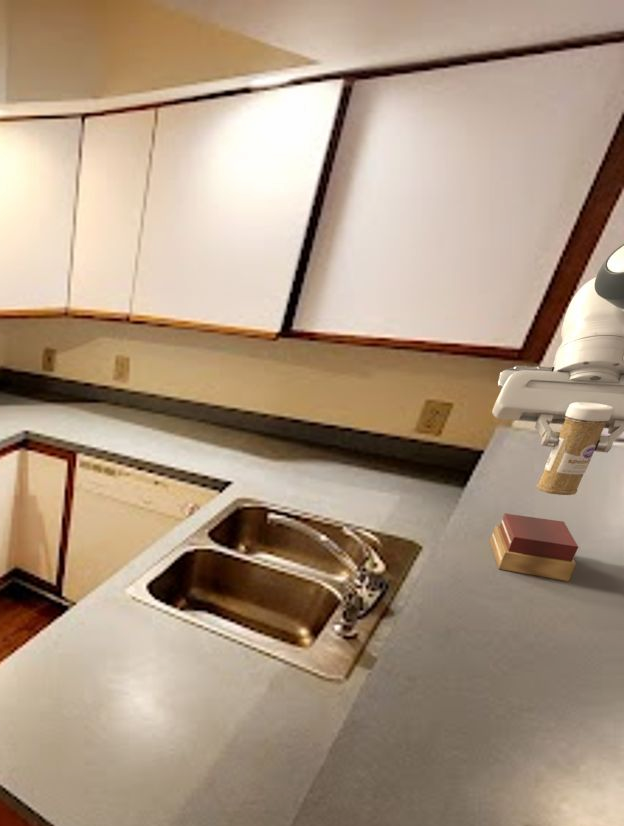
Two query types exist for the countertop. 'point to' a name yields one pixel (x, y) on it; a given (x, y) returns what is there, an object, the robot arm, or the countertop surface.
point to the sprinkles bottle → (574, 447)
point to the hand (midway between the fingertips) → (575, 447)
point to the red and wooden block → (534, 547)
